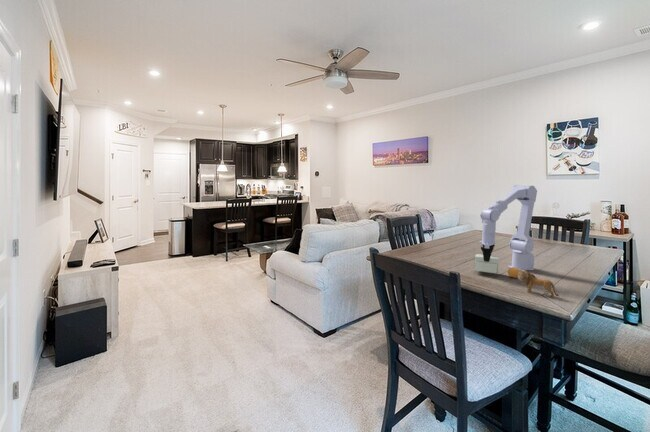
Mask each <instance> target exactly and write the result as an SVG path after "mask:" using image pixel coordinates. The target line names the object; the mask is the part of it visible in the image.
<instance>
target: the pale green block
mask: <svg viewBox="0 0 650 432" xmlns="http://www.w3.org/2000/svg"><path fill="white" fill-rule="evenodd" d="M473 266H474V267H473V271H479V272H485V273H492V274H499V267H500V256H497V255H491V256H490V260H489V262H486V261H484V258H483V254H481V253H480V254H479V253H476V254H475V256H474V265H473Z"/></svg>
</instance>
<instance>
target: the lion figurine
mask: <svg viewBox="0 0 650 432" xmlns="http://www.w3.org/2000/svg"><path fill="white" fill-rule="evenodd" d="M517 278H518V280H519V281H521V282H522V283H523V284H524V285H525V286H527V289H526V290H527V291H526V293H531V292H532V288H533V287H537V288H542V287H544V289H545V290H546V291H545V292H543V294H544V295H548V294H550V295H549V298H551V299H552V298H553V299H554V297H555V296H556V297H560V295H559V294H558V293H557V292H556V288H555V285H554V283H553V282H552V281H551V280H550V279H547V278H538V277H536V276H535V275H534V274H532V273H530V272H529V270H520V271H519V274H518V277H517Z"/></svg>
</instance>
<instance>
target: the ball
mask: <svg viewBox="0 0 650 432" xmlns="http://www.w3.org/2000/svg"><path fill="white" fill-rule="evenodd" d="M518 274H519V270H518V269H517V268H515V267H511V268H510V267H508V270H507V275H508V276H509V277H511V278H513V279H514V278H515V279H516V278H518Z"/></svg>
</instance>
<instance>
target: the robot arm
mask: <svg viewBox="0 0 650 432" xmlns="http://www.w3.org/2000/svg"><path fill="white" fill-rule="evenodd" d="M537 193H538V190H537V188H536V187H535V186H534V185H519V184H517V185H516V184H515V185H513V186H512V188H510V191H509V192H508V193H507V194H506V196H504V197H503V198H502V199H498V200H497V199H496V201H495V202H494V203H493V204H492V205H491V206H489V207H488V208H485V209H483V210H482V211H481V213H480V219H481V223H482V230H481V231H482V232H481V233H482V234H481V235H482V236H481V240H479V241H478V242H479V243H480V244H481V245H482V246H480V249H481V252H482V255H483V258H484V261H486V262H489V260H490V256H492V253H493V251H494V249H495V245H496V242H495V241H496V226H497V221H498V220H499V219H500V217H501V214H502V213H504V212H505V211H506V210H507V209H508V208H509V207H508V206H509V204H511V203H512V202H514V201H515V200H517V201H518V202H520V204H521V208H520V211H519V212H520V214H519V219H518V226H517V231H516V233H514V234H513V235H511V239H510V240H509V244H508V245H509V249H511V252H512V257H511V258H512V259H511V265H507V266H508V268H511V267H515V268H517V269H518V270H519V271H521V270H525V271H535V269H534V268H535V267H534V265H535V264H534V263H535V256H534V253H532V252H533V250H534V248H535V247H534V238H532V237H531V236H530V230H531V224H532V218H533V213H534V207H535V203H536V200H537V195H538V194H537Z"/></svg>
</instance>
